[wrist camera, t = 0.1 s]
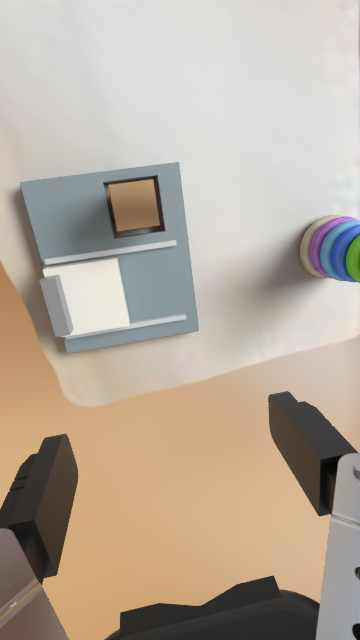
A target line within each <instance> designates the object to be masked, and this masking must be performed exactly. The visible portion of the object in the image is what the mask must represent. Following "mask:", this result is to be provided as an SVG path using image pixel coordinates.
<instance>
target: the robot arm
mask: <svg viewBox="0 0 360 640" xmlns="http://www.w3.org/2000/svg"><path fill="white" fill-rule="evenodd" d="M268 402H269V425H270V432H271V435H272V438H273V440H274V442H275V444H276V446H277V448H278V449H279V451H280V452H281V454H282V456H283V458H284V459H285V461H286V462H287V464H288V466H289V467H290V469H291V471H292V473H293V474H294V476H295V477H296V479H297V481H298V482H299V484H300V486H301V487H302V489H303V491H304V492H305V494H306V496H307V497H308V499H309V501H310V502H311V504H312V506H313V507H314V509H315V510H316V512H317V514H318V516H323V515H328V514H331V518H330V526H329V534H328V542H327V550H326V560H325V567H324V575H323V583H322V592H321V600H320V604H319V603H318V602H316V601H314V600H312V599H310V598H308V597H306V596H304V595H301V594H298V593H296V592H292V591H287V590H279V588H278V586H277V583H276V580H275V578H274V576H270V577H265V578H261V579H257V580H253V581H249V582H245V583H240V584H237V585H235V586H234V587H232V588H230V589H229V590H227V591H225V592H224V593H222V594H220V595H219V596H217V597H215V598H214V599H212V600H210V601H209V602H207V603H205V604H204V605H201V606H190V605H176V604H163V603H158V604H154V605H150V606H146V607H142V608H138V609H134V610H129V611H125V612H121V613H120V629H119V630H117V631H115V632H114V633H112V634H111V635H110V636H109V637H107V638H106V639H105V640H360V454H359V453H358V452H357V451H356V450H355V449H354V448H353V447H352V446H351V445H350V444H349V442H348V441H347V440H346V439H345V438H344V437H343V436H342V435H341V434H340V433H339V432H338V431H337V430H336V429H335V427H334V426H332V425H331V423H330V422H329V421H328V420H327V419H325V417H324V416H323V414H322V413H320V411H319V410H318V409H317V408H316V407H314V406H312V405H310V404H308V403H307V402H305V401H304V402H297V400H296V399H295V398H294V397H293V396H292V395H291V393H290V392H288V391H287V392H281V393H276V394H271V395H269V398H268ZM77 482H78V469H77V464H76V460H75V457H74V454H73V451H72V448H71V444H70V441H69V438H68V436H67V435H66V434H62V435H56V436H52V437H46V438H44V440H43V442H42V445H41V447H40V449H39V452H38V453H37V454H32V455H30V456H29V457H28V459H27V460H26V461H25V462H24V463H23V464H22V465H21V466H20V468H19V470H18V473H17V475H16V477H15V481H14V482H13V483H12V486H11V488H10V492H8V494H7V496H6V498H5V500H4V503H3V505H2V507H1V509H0V640H69V638H68V636H67V634H66V632H65V630H64V628H63V626H62V625H61V623H60V621H59V619H58V617H57V615H56V613H55V611H54V609H53V607H52V605H51V603H50V601H49V599H48V597H47V595H46V593H45V591H44V589H43V587H42V582H43V579H44V578H47V577H51V576H56V575H57V572H58V568H59V563H60V559H61V554H62V549H63V545H64V541H65V536H66V532H67V527H68V523H69V518H70V514H71V509H72V505H73V501H74V496H75V492H76V487H77Z"/></svg>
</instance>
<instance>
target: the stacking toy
mask: <svg viewBox="0 0 360 640" xmlns="http://www.w3.org/2000/svg"><path fill="white" fill-rule="evenodd" d="M300 257H301V261H302V263H303V265H304V267H305V269H306V270H307V271H308V272H309V273H311V274H312V275H314V276H317V277H320V278H333V279H336V280H339V281H349V282H359V283H360V221H359V220H357V219H355V218H352V217H344V216H341V215H329V216H326V217H323V218H321V219H319V220H317V221H316V222H314V223H313V224H312V225H311V226H310V227H309V228H308V230H307V231H306V233H305V235H304V236H303V239H302V242H301V246H300Z"/></svg>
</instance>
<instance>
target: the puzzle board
mask: <svg viewBox="0 0 360 640" xmlns="http://www.w3.org/2000/svg"><path fill="white" fill-rule="evenodd" d="M154 177H157V184H158V191H159V198H160V205H161V212H162V219H163V226H164V231H157V232H150V233H143V234H136V235H130V236H123V237H116V238H115V234H114V229H113V224H112V219H111V214H110V209H109V204H108V199H107V194H106V188H105V184H108V183H115V182H123V181H131V180H138V179H146V178H154ZM20 186H21V190H22V193H23V197H24V200H25V204H26V207H27V211H28V215H29V218H30V222H31V225H32V229H33V232H34V236H35V240H36V243H37V247H38V250H39V254H40V257H41V261H42V265H43V268H44V269H45V268H46V267H51V266H58V265H64V264H71V263H78V262H84V261H91V260H98V259H104V258H111V257H117V258H118V263H119V268H120V273H121V278H122V283H123V288H124V293H125V298H126V303H127V308H128V313H129V319H130V326H126V327H120V328H114V329H108V330H102V331H96V332H90V333H84V334H78V335H72V336H66V337H63V339H64V343H65V347H66V350H67V354H68V353H73V352H79V351H85V350H91V349H97V348H102V347H108V346H114V345H120V344H126V343H131V342H137V341H143V340H149V339H155V338H160V337H166V336H172V335H178V334H184V333H189V332H195V331H199V327H198V319H197V310H196V302H195V293H194V285H193V277H192V268H191V260H190V251H189V243H188V235H187V226H186V218H185V210H184V201H183V193H182V184H181V176H180V168H179V162H176V163H168V164H160V165H152V166H144V167H136V168H128V169H120V170H113V171H105V172H97V173H89V174H81V175H73V176H65V177H58V178H50V179H42V180H34V181H26V182H20Z"/></svg>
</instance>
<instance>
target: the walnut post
mask: <svg viewBox="0 0 360 640" xmlns="http://www.w3.org/2000/svg"><path fill="white" fill-rule="evenodd" d="M108 186H109V191H110V196H111V201H112V207H113V212H114V217H115V222H116V227H117V231H124V230H131V229H138V228H145V227H152V226H159V225H160V222H159V216H158V209H157V202H156V195H155V188H154V182H153V179H150V180H142V181H135V182H127V183H119V184H112V185H108Z"/></svg>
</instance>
